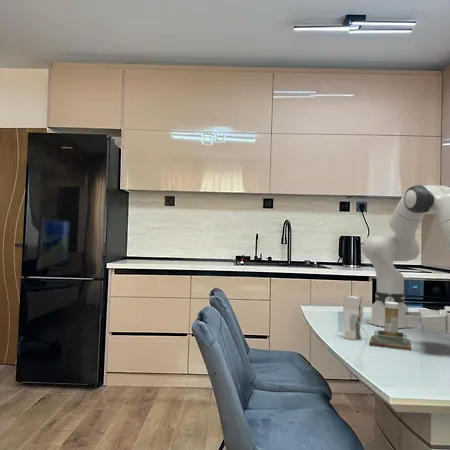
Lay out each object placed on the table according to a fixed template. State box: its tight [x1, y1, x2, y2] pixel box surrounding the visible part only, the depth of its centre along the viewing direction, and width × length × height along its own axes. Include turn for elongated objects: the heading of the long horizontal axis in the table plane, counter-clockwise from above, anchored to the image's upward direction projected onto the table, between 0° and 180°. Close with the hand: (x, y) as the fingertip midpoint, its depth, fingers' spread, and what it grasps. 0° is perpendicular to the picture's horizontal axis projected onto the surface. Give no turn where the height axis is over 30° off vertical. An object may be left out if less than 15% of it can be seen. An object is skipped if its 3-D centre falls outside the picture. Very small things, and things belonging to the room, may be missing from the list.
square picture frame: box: [368, 329, 412, 351], centre depth 146 cm, size 13×13×4 cm
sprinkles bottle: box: [383, 302, 399, 337], centre depth 147 cm, size 5×5×13 cm
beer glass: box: [342, 295, 364, 341], centre depth 154 cm, size 7×7×15 cm
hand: (405, 316), depth 145 cm, fingers open, 8 cm apart
